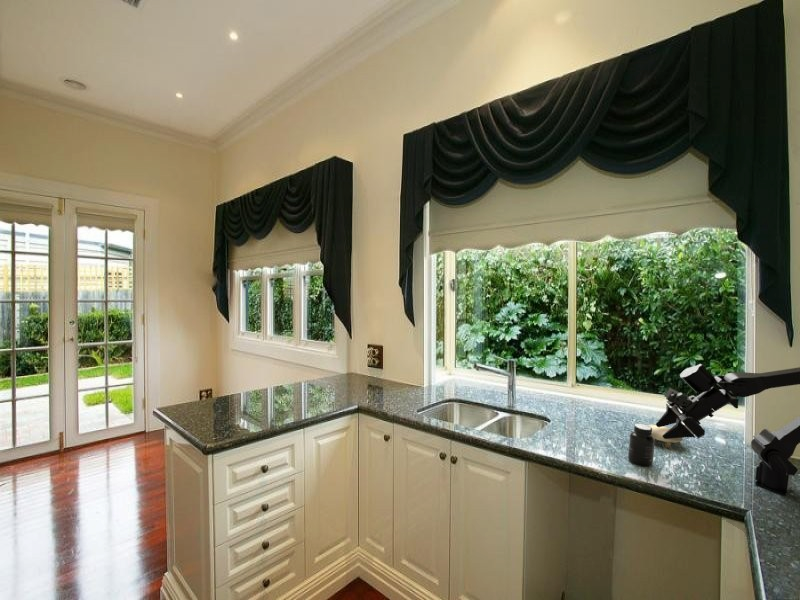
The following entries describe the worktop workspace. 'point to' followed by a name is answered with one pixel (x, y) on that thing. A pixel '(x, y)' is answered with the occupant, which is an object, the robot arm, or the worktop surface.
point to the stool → (660, 431)
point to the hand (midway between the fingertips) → (659, 431)
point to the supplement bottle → (641, 446)
